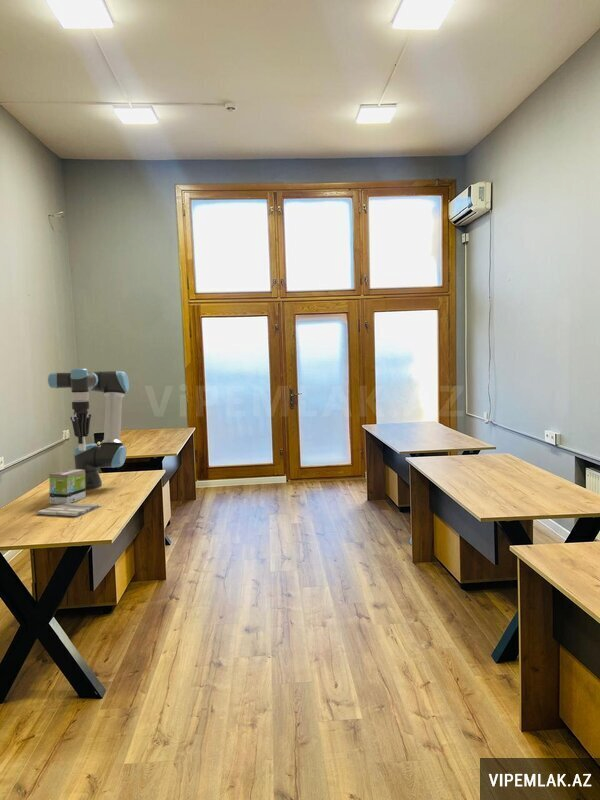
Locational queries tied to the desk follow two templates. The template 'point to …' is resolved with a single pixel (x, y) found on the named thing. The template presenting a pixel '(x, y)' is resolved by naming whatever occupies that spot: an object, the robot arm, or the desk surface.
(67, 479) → the tea box
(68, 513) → the plank
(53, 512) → the plank
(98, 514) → the desk surface
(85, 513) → the grey framed panel
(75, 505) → the laid board
